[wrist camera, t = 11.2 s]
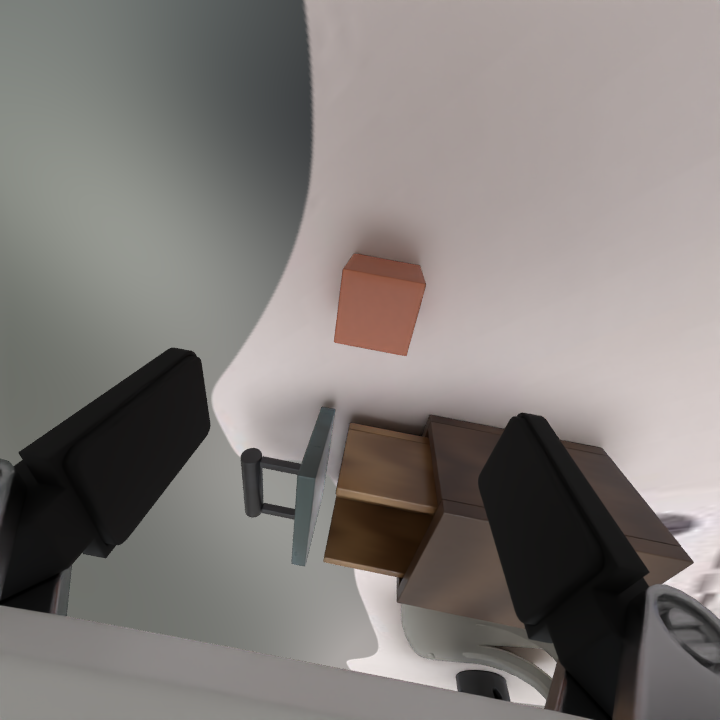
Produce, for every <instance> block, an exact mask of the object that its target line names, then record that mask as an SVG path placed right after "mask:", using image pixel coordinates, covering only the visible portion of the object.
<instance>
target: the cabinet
mask: <svg viewBox="0 0 720 720" xmlns="http://www.w3.org/2000/svg"><path fill="white" fill-rule="evenodd" d="M504 430H505V429H501V428H495V427H490V426H485V425H480V424H475V423H470V422H465V421H460V420H454V419H449V418H444V417H439V416H434V415H430V416H429V418H428V421H427V424H426V426H425V429H424V432H423V434H422V437H427V438H429V442H430V449H431V457H432V465H433V473H434V480H435V488H436V496H437V503H438V509H437V511H436V513H435V515H434V517H433V519H432V521H431V523H430V525H429V527H428V529H427V531H426V533H425V535H424V537H423V539H422V541H421V543H420V545H419V547H418V549H417V551H416V553H415V555H414V557H413V559H412V561H411V563H410V565H409V567H408V569H407V571H406V573H405V575H404V577H403V578H399V577H397V603H401V604H406V605H410V606H415V607H420V608H425V609H430V610H435V611H440V612H444V613H449V614H454V615H459V616H464V617H469V618H473V619H478V620H483V621H488V622H493V623H498V624H503V625H507V626H512V627H517V628H522V629H525V626H524V623H522V622H521V621H520V620H519V619H518V617H517V616H516V613H515V610H514V607H513V603H512V600H511V596H510V593H509V590H508V586H507V583H506V579H505V576H504V573H503V569H502V566H501V562H500V559H499V556H498V552H497V549H496V545H495V542H494V538H493V535H492V532H491V528H490V525H489V521H488V518H487V515H486V511H485V508H484V504H483V501H482V497H481V494H480V491H479V487H478V477H479V474H480V473H481V471H482V469H483V467H484V465H485V464H486V462H487V460H488V458H489V456H490V455H491V453H492V451H493V449H494V448H495V446H496V444H497V442H498V440H499V439H500V437H501V435H502V433H503V431H504ZM560 441H561V442H562V444H563V445H564V447H565V448H566V450H567V451H568V453H569V454H570V456H571V457H572V459H573V460H574V461H575V463H576V464H577V466H578V467H579V469H580V470H581V472H582V473H583V475H584V476H585V478H586V479H587V481H588V482H589V484H590V485H591V486H592V488H593V489H594V491H595V492H596V494H597V495H598V497H599V498H600V500H601V501H602V503H603V504H604V506H605V507H606V508H607V510H608V511H609V513H610V514H611V516H612V517H613V519H614V520H615V522H616V523H617V525H618V526H619V528H620V529H621V531H622V532H623V533H624V535H625V536H626V538H627V539H628V541H629V542H630V544H631V545H632V547H633V548H634V550H635V551H636V553H637V554H638V556H639V557H640V558H641V560H642V561H643V563H644V564H645V566H646V567H647V569H648V570H649V572H650V573H648V574H647V575H646V576H644V577H643V578H644V579H645V581H646V582H647V584H648V585H649V587H651V586H653V585H655V584H663V583H664V582H666V581H667V580H669V579H670V578H672V577H673V576H675V575H676V574H678V573H679V572H681V571H682V570H684V569H685V568H687V567H688V566H690V565H692V564H693V563H694V562H693V560H692V559H691V558H690V557H689V556H688V554H687V553H686V552H685V551H684V549H683V548H682V547H681V545H680V544H679V543H678V542H677V540H676V539H675V538H674V537H673V535H672V534H671V533H670V532H669V530H668V529H667V528H666V527H665V525H664V524H663V523H662V522H661V520H660V519H659V518H658V517H657V515H656V514H655V513H654V512H653V510H652V509H651V508H650V507H649V505H648V504H647V503H646V502H645V500H644V499H643V498H642V497H641V495H640V494H639V493H638V492H637V490H636V489H635V488H634V487H633V485H632V484H631V483H630V482H629V481H628V479H627V478H626V477H625V476H624V474H623V473H622V472H621V471H620V469H619V468H618V467H617V466H616V464H615V463H614V462H613V461H612V459H611V458H610V457H609V456H608V455H607V453H606V452H605V451H604V450H603V449H602V448H598V447H593V446H588V445H583V444H578V443H573V442H567V441H562V440H560Z"/></svg>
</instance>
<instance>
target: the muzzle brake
mask: <svg viewBox="0 0 720 720" xmlns="http://www.w3.org/2000/svg"><path fill="white" fill-rule="evenodd" d="M456 681H457V689H458V692H463V693H468V694H473V695H478V696H483V697H488V698H493V699H498V700H503V701H508V702H510V697H509V693H508V688H507V684H506V680H505V679H504V678H503V677H501V676H500V675H497V674H495V673H491V672H486V671H464V672H461V673H459V674H457V676H456Z"/></svg>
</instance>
